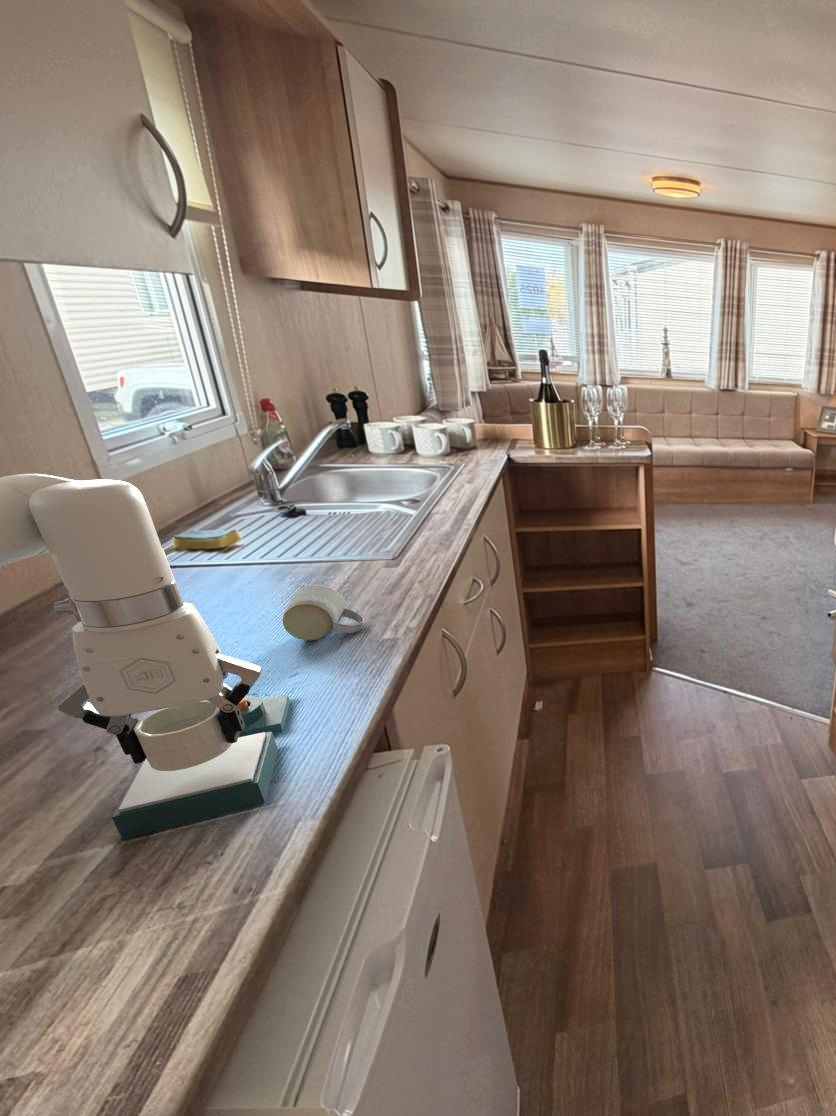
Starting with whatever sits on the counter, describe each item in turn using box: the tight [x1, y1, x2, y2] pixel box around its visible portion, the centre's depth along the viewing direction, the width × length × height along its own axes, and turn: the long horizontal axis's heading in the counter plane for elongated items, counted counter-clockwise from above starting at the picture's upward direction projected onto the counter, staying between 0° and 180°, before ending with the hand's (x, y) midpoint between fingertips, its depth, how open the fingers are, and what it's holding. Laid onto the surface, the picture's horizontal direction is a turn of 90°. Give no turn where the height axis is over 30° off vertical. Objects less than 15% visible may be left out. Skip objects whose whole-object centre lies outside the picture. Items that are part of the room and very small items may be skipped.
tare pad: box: [238, 694, 291, 738], centre depth 85 cm, size 10×8×3 cm
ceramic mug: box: [282, 584, 365, 642], centre depth 110 cm, size 11×8×8 cm
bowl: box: [133, 700, 232, 771], centre depth 71 cm, size 7×7×5 cm
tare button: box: [238, 697, 248, 711], centre depth 85 cm, size 3×3×1 cm
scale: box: [111, 732, 279, 839], centre depth 74 cm, size 12×11×3 cm
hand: (190, 745), depth 72 cm, fingers closed on bowl, 7 cm apart
